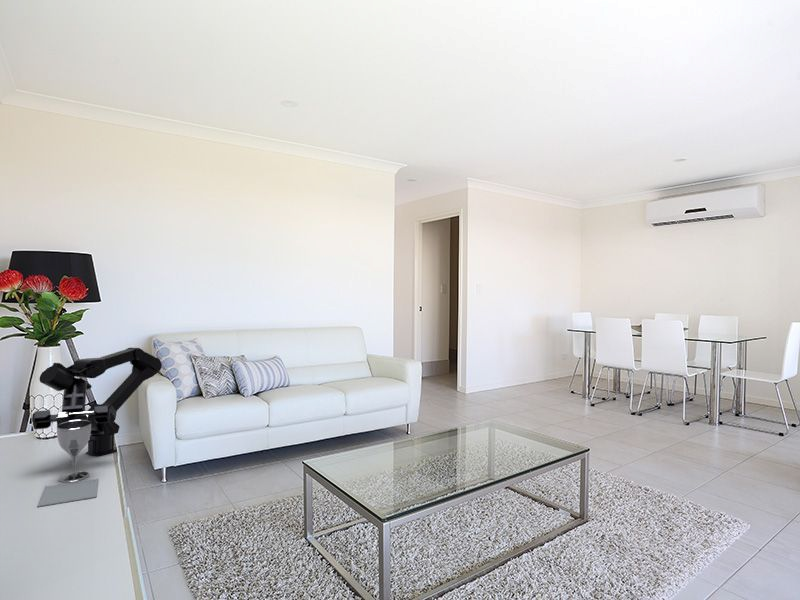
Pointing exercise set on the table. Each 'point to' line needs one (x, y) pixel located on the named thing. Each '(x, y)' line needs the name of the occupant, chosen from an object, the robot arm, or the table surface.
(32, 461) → the table surface
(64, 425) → the wine glass
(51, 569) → the table surface
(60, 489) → the placemat
